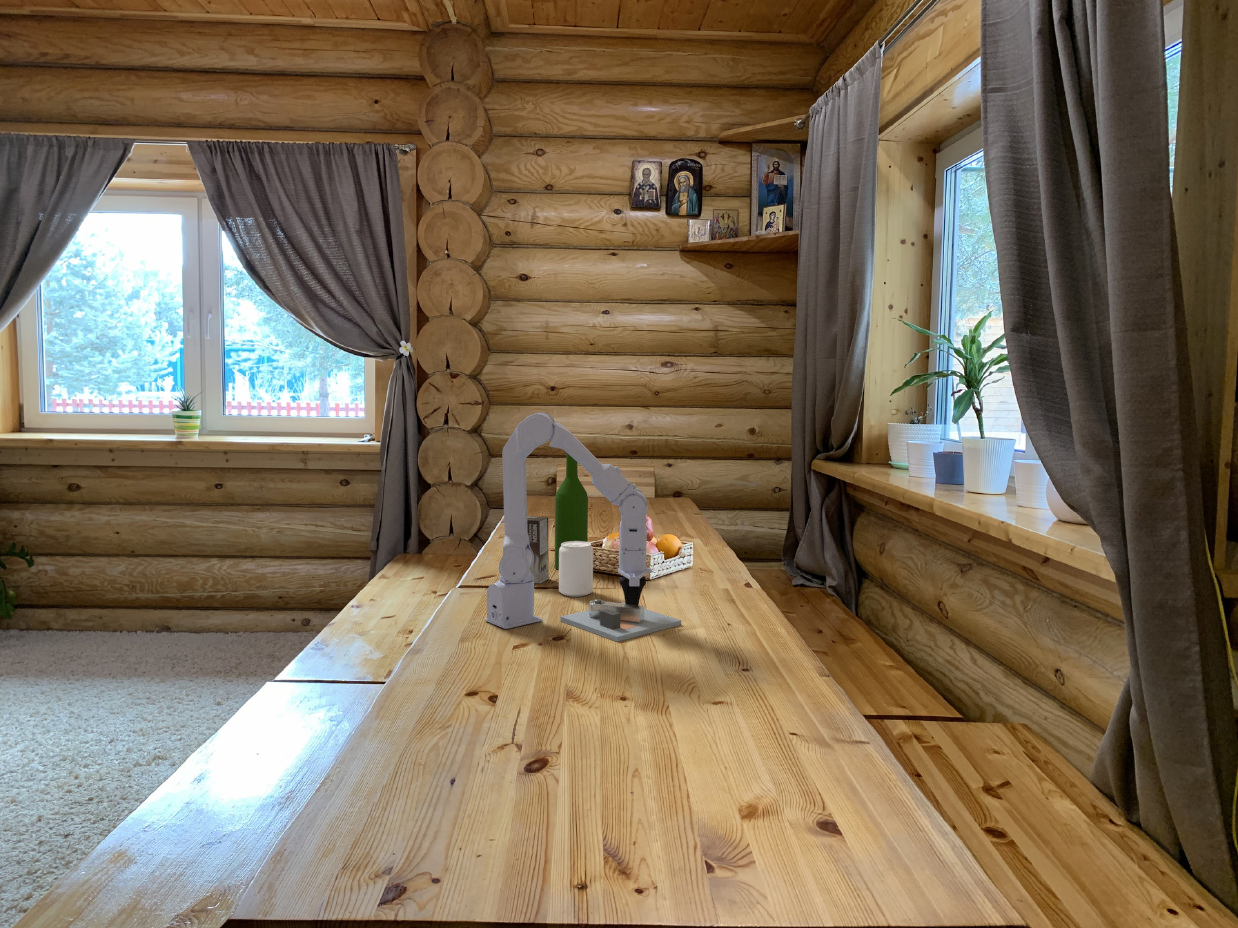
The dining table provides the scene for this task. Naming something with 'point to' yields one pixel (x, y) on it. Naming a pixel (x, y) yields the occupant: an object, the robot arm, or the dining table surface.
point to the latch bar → (617, 610)
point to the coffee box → (539, 547)
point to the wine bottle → (570, 509)
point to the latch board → (620, 624)
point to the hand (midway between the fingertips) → (631, 611)
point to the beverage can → (576, 568)
